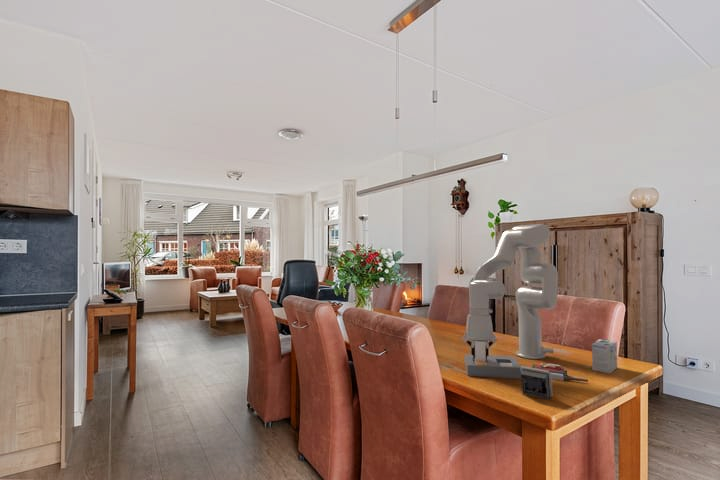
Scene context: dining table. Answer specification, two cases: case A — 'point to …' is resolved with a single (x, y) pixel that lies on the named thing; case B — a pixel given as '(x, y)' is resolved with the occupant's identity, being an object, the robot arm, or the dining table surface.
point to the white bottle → (480, 351)
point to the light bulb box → (604, 355)
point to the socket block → (493, 366)
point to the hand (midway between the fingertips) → (479, 356)
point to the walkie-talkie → (557, 372)
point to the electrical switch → (536, 382)
